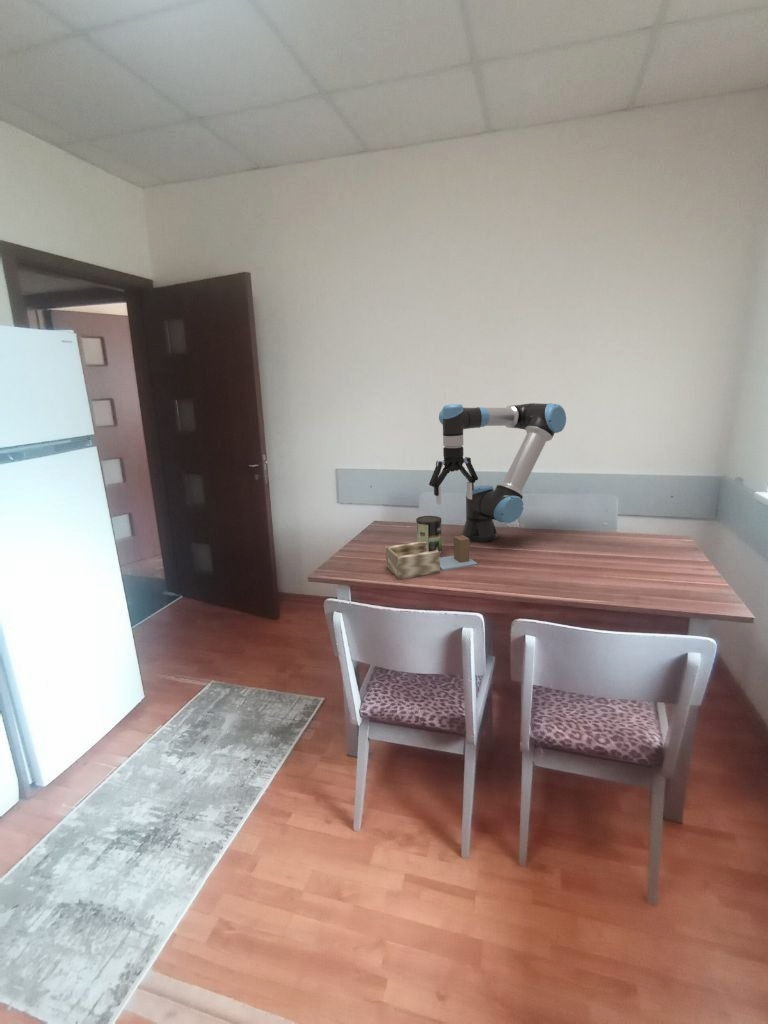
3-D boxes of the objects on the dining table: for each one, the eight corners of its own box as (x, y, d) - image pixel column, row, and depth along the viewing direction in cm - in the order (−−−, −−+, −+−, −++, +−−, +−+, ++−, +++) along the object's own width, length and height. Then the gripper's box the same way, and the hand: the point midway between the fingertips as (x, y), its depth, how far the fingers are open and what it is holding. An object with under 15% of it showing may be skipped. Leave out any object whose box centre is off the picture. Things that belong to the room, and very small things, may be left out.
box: (424, 560, 189) (424, 541, 187) (439, 572, 176) (439, 551, 174) (386, 566, 184) (385, 546, 182) (399, 579, 172) (398, 558, 170)
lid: (463, 556, 193) (463, 532, 191) (477, 565, 182) (477, 540, 180) (430, 561, 189) (429, 537, 186) (442, 571, 178) (442, 546, 176)
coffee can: (442, 547, 203) (442, 515, 200) (440, 556, 194) (440, 522, 190) (418, 547, 205) (417, 515, 202) (415, 555, 196) (414, 521, 192)
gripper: (476, 442, 189) (476, 494, 194) (419, 448, 180) (421, 503, 186) (487, 444, 182) (487, 498, 188) (428, 451, 173) (430, 507, 179)
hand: (454, 501), depth 187 cm, fingers open, 13 cm apart
